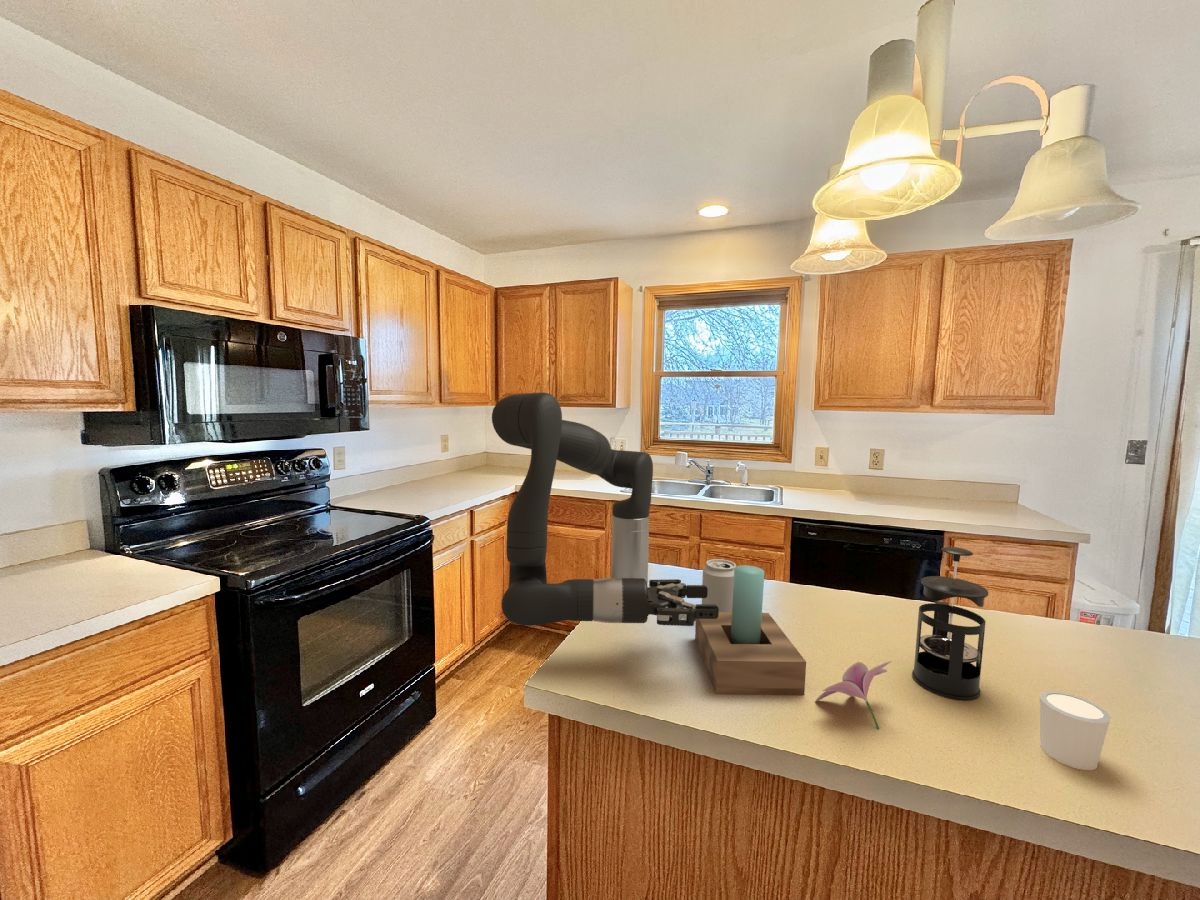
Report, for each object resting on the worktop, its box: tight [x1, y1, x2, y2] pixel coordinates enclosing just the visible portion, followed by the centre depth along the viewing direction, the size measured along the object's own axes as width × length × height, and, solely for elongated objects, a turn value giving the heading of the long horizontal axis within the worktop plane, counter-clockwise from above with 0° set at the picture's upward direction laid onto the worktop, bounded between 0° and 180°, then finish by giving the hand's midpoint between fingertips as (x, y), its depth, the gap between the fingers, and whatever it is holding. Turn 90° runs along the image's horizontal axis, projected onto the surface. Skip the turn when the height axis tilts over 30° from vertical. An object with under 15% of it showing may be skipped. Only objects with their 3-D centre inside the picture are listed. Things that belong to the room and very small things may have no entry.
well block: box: [694, 612, 807, 696], centre depth 89 cm, size 18×14×6 cm
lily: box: [814, 661, 893, 730], centre depth 75 cm, size 12×12×10 cm
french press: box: [911, 546, 989, 701], centre depth 83 cm, size 12×9×23 cm
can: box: [701, 558, 737, 612], centre depth 107 cm, size 8×8×12 cm
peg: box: [730, 564, 765, 644], centre depth 88 cm, size 5×5×16 cm
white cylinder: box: [1039, 690, 1111, 771], centre depth 67 cm, size 7×7×7 cm
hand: (712, 601), depth 88 cm, fingers open, 8 cm apart
